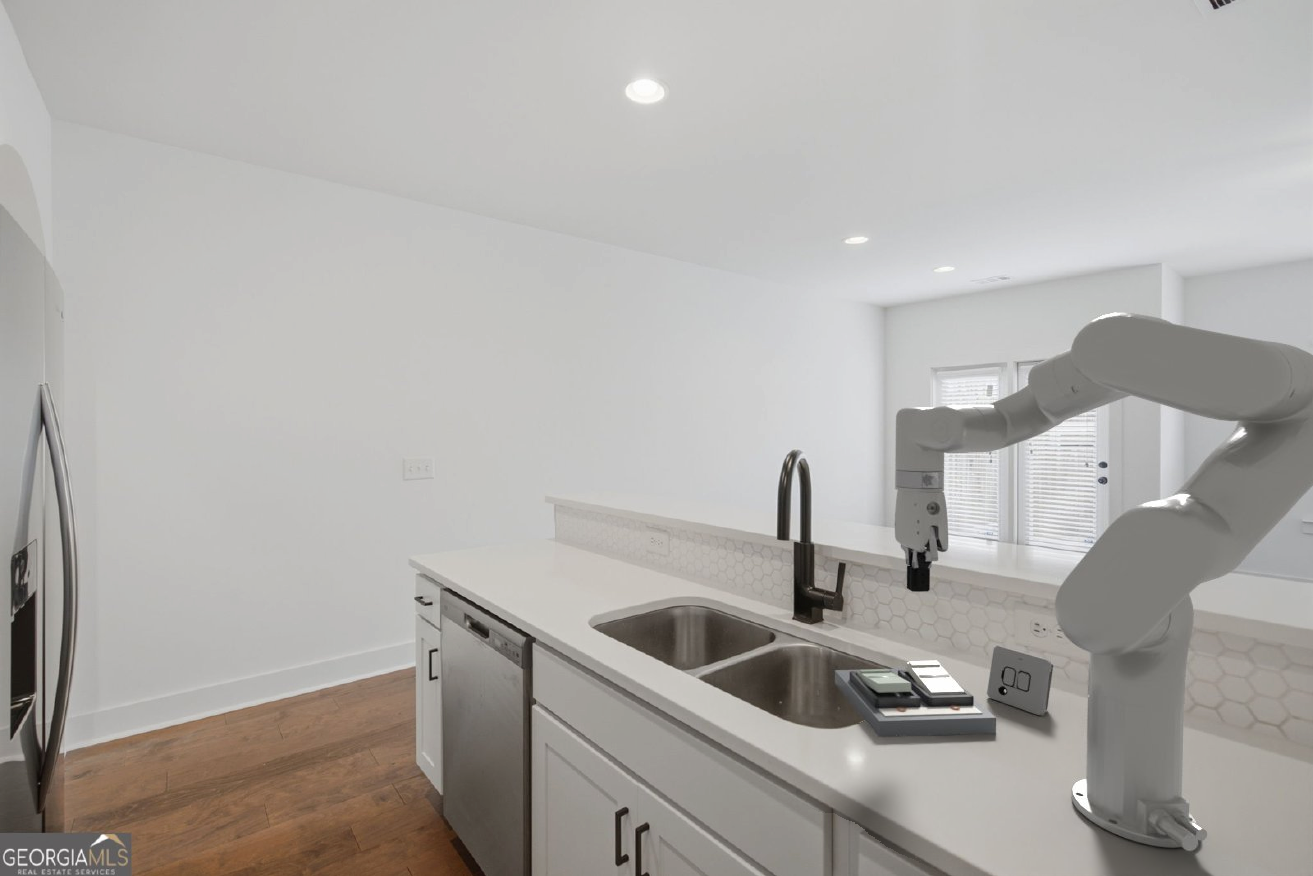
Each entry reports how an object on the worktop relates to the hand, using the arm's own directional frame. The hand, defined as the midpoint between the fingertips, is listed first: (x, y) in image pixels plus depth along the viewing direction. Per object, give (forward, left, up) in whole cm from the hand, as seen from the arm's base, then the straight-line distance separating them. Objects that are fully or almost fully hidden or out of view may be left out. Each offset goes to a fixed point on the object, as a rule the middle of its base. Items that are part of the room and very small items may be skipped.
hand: (918, 590), depth 105 cm
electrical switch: (+3, -20, -21) cm, 29 cm away
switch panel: (+3, 0, -21) cm, 21 cm away
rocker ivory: (+3, -4, -17) cm, 17 cm away
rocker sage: (+3, +5, -17) cm, 17 cm away
